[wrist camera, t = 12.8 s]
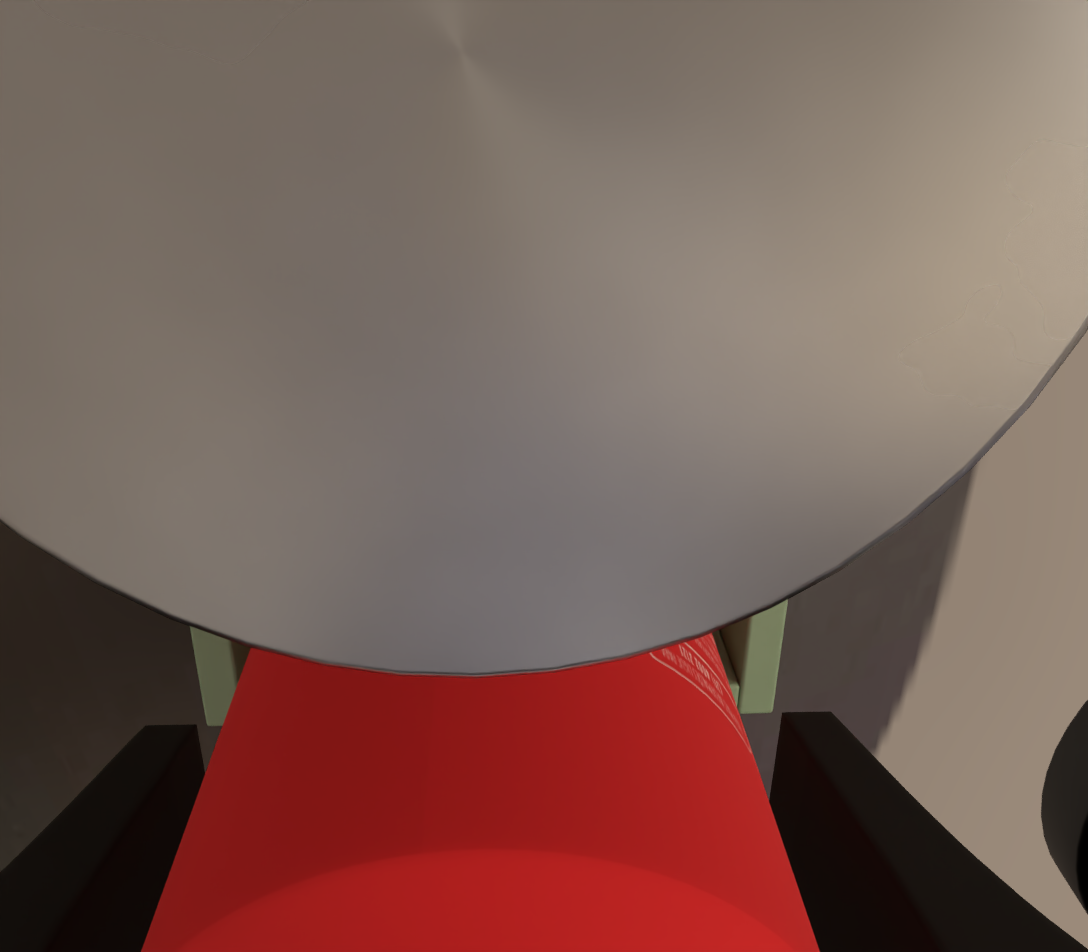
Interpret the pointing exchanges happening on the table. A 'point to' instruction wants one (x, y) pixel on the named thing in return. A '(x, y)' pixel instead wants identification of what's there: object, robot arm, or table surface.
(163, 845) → the robot arm
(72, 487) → the silver can
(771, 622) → the tray
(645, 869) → the beverage can
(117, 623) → the table surface
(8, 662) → the table surface
